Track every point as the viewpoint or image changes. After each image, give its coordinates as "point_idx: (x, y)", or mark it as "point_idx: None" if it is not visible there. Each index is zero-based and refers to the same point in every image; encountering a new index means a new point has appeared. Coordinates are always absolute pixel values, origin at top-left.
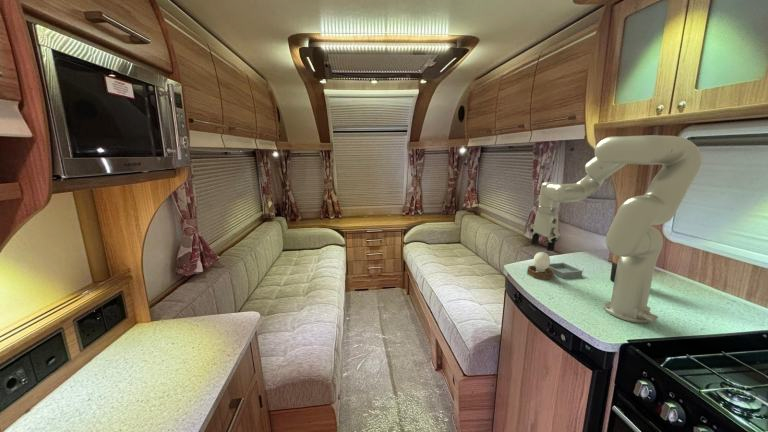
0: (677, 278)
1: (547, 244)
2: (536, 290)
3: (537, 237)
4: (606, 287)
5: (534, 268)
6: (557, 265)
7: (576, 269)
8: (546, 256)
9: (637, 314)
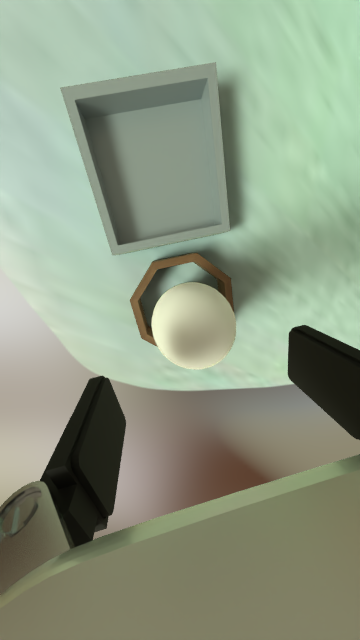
0: None
1: (332, 417)
2: None
3: (95, 453)
4: (338, 66)
5: (141, 310)
6: (95, 162)
7: (182, 85)
8: (233, 330)
9: None
